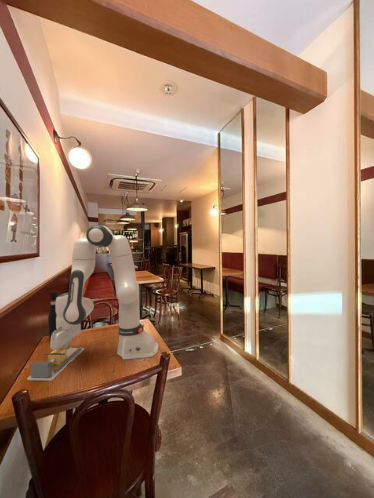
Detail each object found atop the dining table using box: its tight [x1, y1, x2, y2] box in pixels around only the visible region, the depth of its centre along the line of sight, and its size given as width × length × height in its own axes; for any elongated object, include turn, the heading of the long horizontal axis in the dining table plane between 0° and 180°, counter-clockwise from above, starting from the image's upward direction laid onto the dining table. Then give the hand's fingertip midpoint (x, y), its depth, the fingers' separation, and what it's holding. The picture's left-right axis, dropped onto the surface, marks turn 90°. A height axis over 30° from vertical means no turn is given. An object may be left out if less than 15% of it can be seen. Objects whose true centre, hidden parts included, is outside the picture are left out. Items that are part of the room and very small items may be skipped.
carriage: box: [43, 349, 67, 365], centre depth 101 cm, size 10×9×5 cm
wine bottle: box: [47, 290, 58, 342], centre depth 130 cm, size 6×6×30 cm
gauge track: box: [26, 346, 85, 382], centre depth 104 cm, size 11×26×7 cm, turn 177°
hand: (67, 349), depth 111 cm, fingers closed
